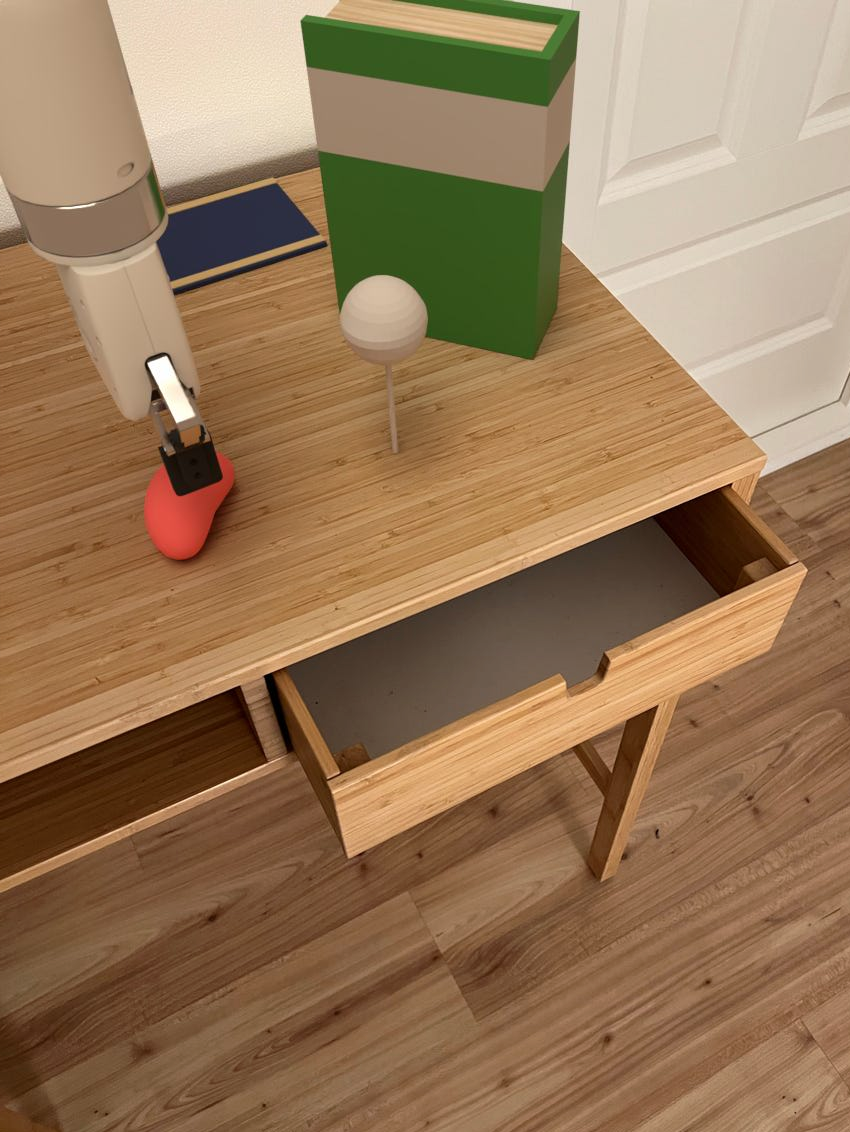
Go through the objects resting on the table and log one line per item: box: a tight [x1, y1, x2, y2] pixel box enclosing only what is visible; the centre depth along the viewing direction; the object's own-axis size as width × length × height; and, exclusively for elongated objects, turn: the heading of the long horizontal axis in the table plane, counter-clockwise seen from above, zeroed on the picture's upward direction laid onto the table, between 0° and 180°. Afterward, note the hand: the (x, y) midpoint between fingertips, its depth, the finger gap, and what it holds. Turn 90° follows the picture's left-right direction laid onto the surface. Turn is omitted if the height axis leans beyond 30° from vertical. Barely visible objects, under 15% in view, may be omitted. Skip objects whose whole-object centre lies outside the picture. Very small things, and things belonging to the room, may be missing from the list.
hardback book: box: [300, 0, 581, 361], centre depth 78 cm, size 18×7×24 cm, turn 72°
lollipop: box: [339, 275, 428, 454], centre depth 71 cm, size 6×6×15 cm
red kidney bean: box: [143, 450, 236, 561], centre depth 72 cm, size 5×9×6 cm, turn 157°
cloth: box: [156, 176, 328, 296], centre depth 94 cm, size 18×13×1 cm
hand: (173, 441), depth 67 cm, fingers open, 9 cm apart
